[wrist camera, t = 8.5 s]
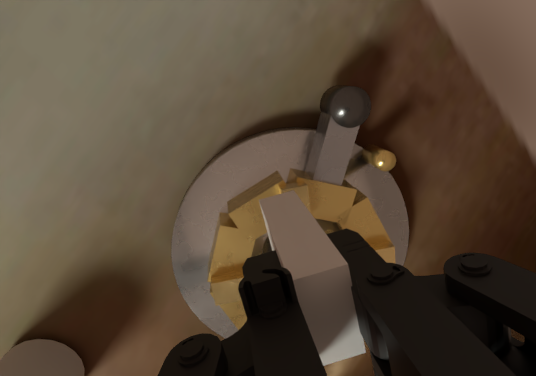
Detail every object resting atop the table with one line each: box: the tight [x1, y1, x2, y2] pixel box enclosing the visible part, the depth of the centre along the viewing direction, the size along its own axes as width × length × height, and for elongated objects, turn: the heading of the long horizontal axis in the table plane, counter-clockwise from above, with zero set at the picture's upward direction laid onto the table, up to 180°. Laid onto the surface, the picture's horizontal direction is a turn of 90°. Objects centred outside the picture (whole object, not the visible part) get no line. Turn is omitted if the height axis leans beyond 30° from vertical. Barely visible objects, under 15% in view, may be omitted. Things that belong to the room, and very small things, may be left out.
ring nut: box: [207, 85, 396, 330], centre depth 31 cm, size 22×15×4 cm, turn 166°
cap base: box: [172, 127, 409, 338], centre depth 33 cm, size 22×22×8 cm
